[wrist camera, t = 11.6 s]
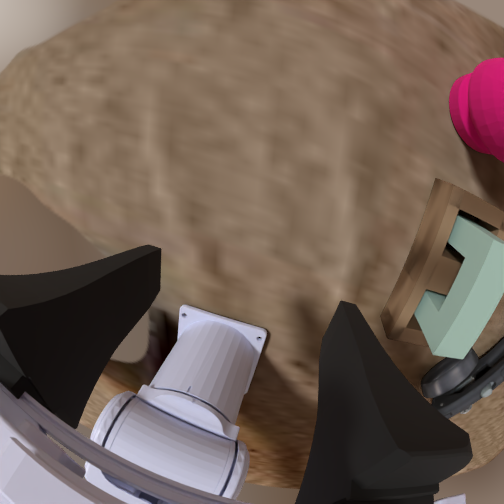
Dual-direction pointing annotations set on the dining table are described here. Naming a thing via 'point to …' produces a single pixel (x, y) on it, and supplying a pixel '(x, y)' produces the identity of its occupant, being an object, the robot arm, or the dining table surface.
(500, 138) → the pepper mill
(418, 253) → the brown wooden frame
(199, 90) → the dining table surface
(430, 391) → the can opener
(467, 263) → the mint green foam block
